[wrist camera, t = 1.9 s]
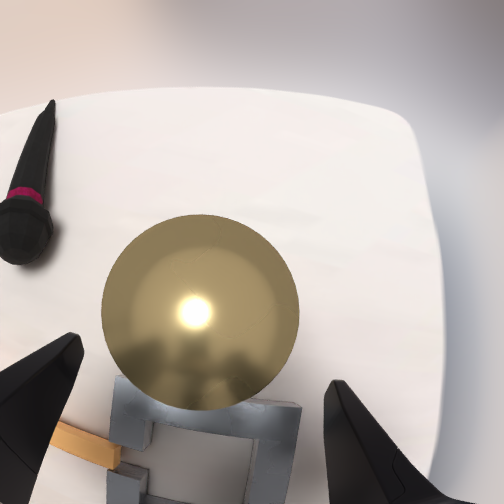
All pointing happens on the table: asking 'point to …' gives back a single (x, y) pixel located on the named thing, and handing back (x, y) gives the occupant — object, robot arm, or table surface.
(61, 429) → the pin
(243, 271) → the ball
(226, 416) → the frame
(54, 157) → the table surface
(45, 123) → the microphone
